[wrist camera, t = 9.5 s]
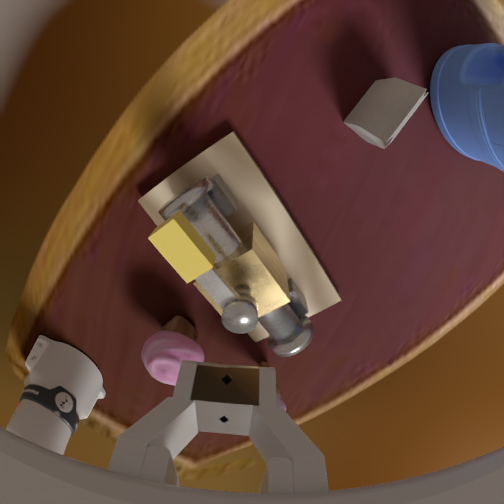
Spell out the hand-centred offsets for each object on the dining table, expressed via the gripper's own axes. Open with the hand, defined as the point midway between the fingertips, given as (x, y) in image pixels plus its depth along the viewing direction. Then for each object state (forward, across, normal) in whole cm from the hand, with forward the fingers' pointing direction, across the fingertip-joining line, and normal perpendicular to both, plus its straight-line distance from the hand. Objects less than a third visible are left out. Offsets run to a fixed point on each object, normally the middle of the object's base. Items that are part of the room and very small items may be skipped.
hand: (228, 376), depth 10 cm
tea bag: (+29, -13, -10) cm, 34 cm away
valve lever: (+17, +3, +6) cm, 18 cm away
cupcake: (+30, +9, +24) cm, 39 cm away
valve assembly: (+29, 0, +9) cm, 31 cm away
